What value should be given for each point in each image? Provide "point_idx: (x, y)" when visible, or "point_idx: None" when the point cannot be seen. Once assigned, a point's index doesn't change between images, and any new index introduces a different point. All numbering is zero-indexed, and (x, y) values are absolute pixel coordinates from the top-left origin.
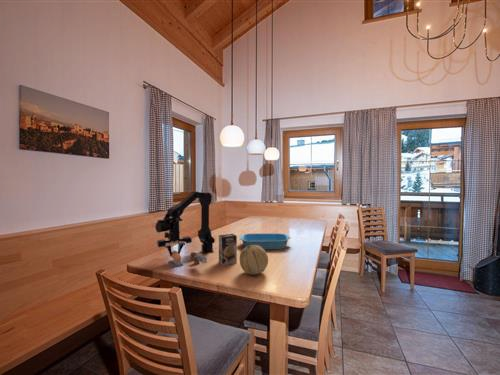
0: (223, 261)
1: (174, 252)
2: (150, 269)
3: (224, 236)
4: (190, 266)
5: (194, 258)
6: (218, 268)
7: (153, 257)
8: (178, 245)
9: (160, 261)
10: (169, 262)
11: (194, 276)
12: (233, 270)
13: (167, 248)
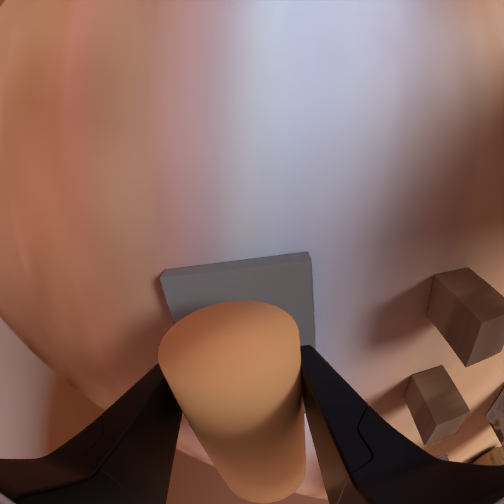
0: (496, 428)
1: (228, 456)
2: (56, 368)
3: None
4: None
5: (424, 420)
6: (451, 440)
7: (17, 39)
8: (354, 498)
9: (68, 200)
10: (175, 316)
11: (320, 489)
12: (468, 449)
13: (69, 454)
